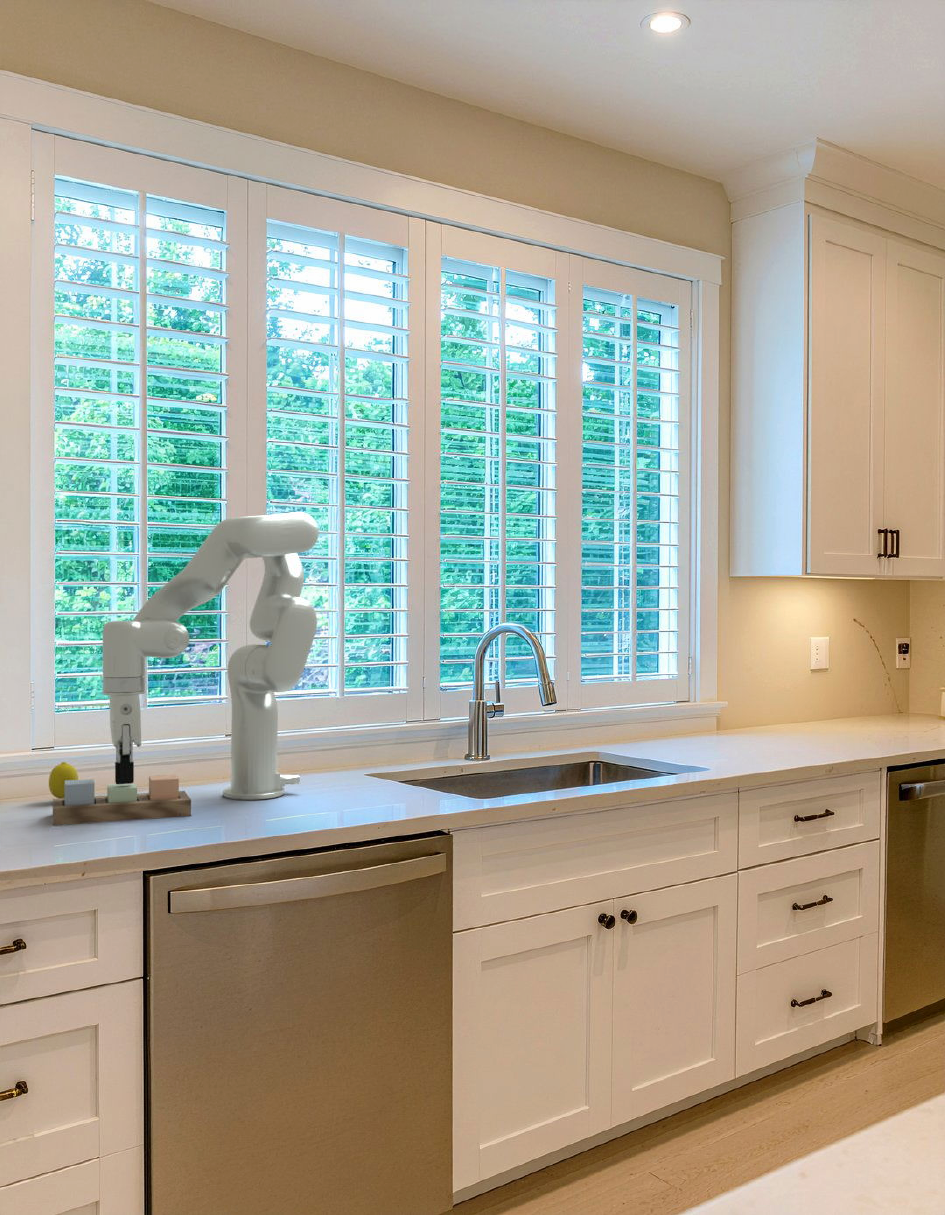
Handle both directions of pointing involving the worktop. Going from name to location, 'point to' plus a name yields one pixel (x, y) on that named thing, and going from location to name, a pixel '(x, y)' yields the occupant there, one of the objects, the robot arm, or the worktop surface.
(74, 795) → the button slate
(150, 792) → the button terracotta
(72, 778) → the lemon
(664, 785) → the worktop surface
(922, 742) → the worktop surface
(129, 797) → the button sage
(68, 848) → the worktop surface
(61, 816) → the button board
